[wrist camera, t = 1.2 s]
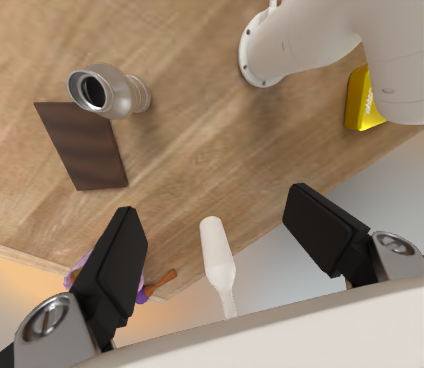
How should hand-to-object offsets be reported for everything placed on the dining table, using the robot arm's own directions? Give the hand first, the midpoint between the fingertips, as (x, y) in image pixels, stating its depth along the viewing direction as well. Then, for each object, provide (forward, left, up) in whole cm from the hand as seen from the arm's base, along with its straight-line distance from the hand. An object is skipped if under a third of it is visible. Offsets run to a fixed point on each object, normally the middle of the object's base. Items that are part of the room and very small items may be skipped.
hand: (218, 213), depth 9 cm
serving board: (+5, -24, -33) cm, 41 cm away
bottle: (+33, +5, -33) cm, 47 cm away
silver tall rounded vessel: (-7, -11, -33) cm, 36 cm away
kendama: (+62, -19, -33) cm, 73 cm away
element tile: (-8, +49, -33) cm, 60 cm away
